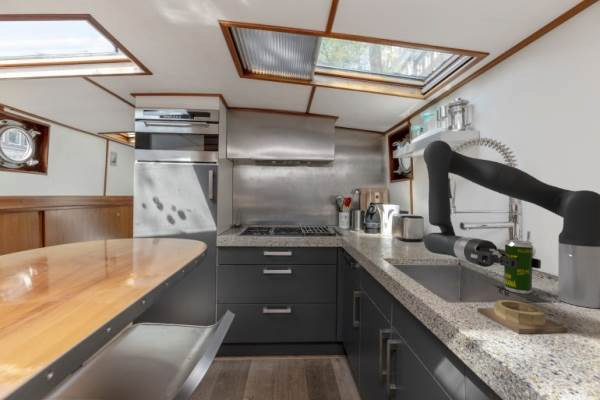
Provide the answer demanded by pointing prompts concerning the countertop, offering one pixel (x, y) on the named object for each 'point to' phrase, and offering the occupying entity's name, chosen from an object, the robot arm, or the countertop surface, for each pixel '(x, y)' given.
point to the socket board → (523, 327)
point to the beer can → (519, 266)
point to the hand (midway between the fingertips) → (527, 264)
